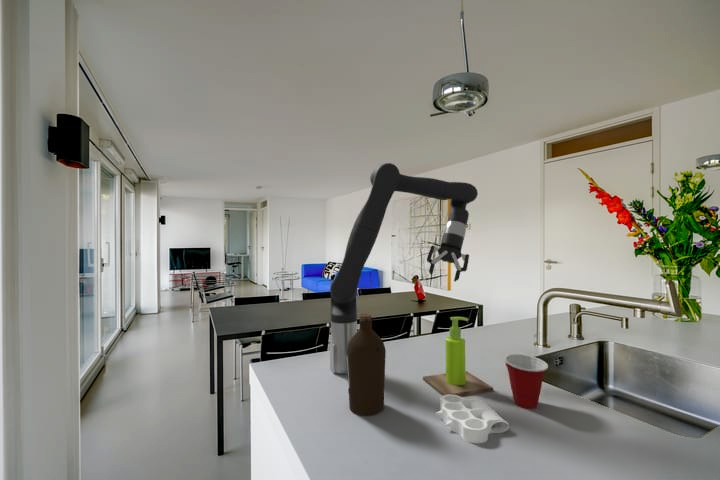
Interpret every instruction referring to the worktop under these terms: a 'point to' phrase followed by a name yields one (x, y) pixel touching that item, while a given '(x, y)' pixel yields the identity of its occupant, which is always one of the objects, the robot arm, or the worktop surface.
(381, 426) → the worktop surface
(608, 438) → the worktop surface
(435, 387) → the soap board
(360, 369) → the olive oil
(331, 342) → the robot arm
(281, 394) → the worktop surface
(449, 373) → the soap dispenser
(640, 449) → the worktop surface
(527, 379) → the plastic cup
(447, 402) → the white flat holed block
